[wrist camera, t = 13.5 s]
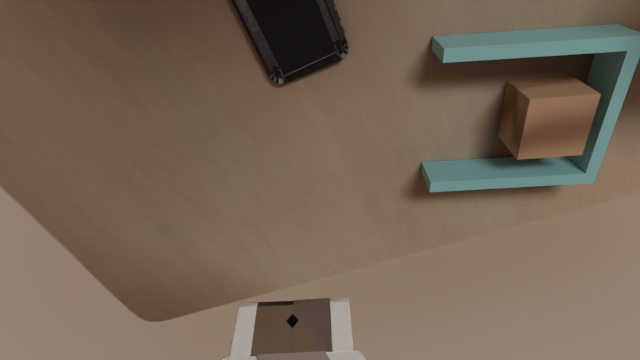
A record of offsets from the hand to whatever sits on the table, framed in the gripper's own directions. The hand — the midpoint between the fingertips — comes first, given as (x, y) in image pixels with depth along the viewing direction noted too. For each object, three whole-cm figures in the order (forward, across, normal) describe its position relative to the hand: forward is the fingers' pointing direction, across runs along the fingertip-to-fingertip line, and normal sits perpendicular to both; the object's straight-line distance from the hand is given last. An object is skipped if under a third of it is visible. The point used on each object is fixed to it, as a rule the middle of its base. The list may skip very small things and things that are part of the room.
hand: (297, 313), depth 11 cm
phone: (+31, +2, -4) cm, 31 cm away
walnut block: (+30, -22, +9) cm, 38 cm away
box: (+30, -19, +8) cm, 37 cm away
